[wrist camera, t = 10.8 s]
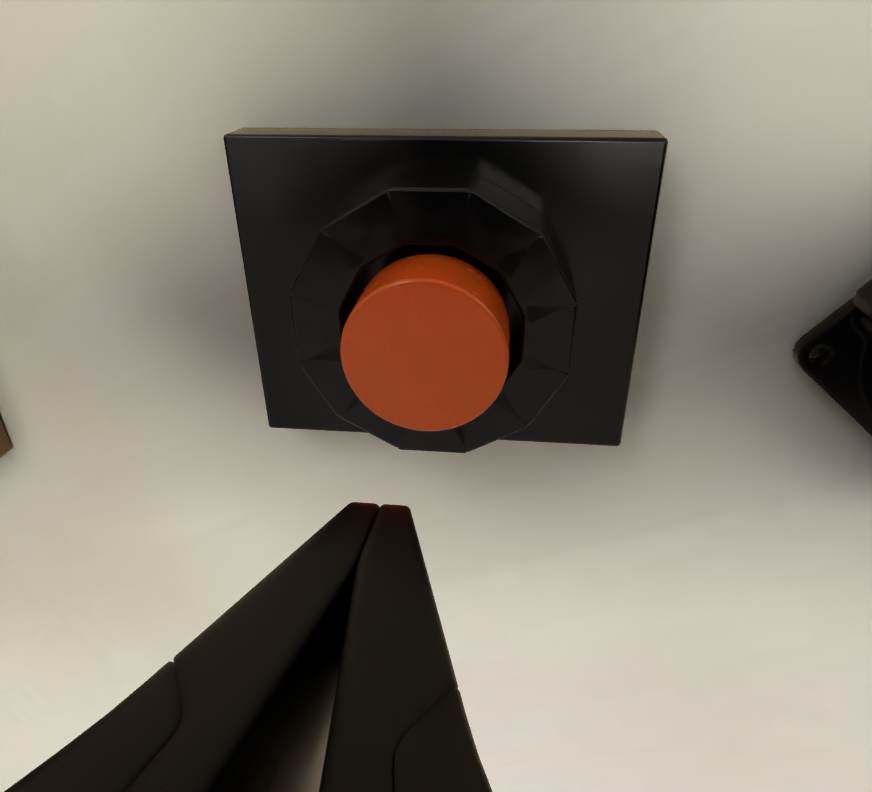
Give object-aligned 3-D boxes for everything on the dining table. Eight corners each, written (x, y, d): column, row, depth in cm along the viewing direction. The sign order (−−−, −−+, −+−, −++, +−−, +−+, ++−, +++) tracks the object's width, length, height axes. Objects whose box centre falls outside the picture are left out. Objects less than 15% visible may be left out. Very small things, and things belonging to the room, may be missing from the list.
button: (513, 254, 14) (513, 281, 13) (506, 397, 16) (505, 437, 15) (351, 250, 15) (332, 276, 13) (361, 390, 16) (345, 428, 15)
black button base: (659, 130, 15) (687, 153, 13) (615, 424, 19) (630, 487, 16) (240, 127, 16) (187, 147, 14) (281, 407, 20) (246, 465, 17)
